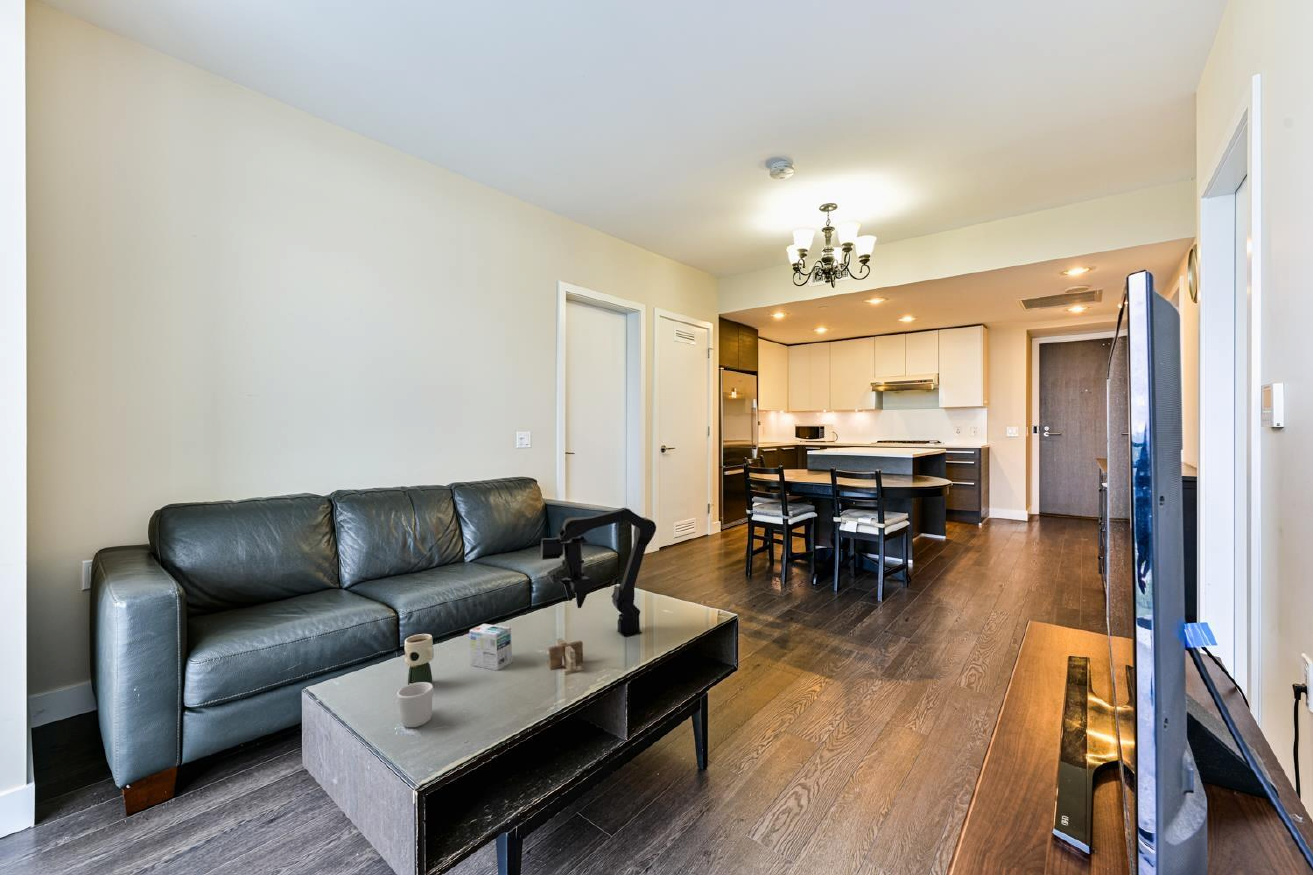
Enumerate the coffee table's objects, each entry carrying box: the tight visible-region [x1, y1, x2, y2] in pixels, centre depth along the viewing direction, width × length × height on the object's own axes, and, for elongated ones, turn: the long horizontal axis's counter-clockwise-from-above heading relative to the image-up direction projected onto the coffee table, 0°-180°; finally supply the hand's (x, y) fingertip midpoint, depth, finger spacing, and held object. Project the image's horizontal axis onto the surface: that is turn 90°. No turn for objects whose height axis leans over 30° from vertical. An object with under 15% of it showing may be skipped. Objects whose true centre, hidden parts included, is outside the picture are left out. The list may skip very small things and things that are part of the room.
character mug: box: [404, 633, 435, 685], centre depth 152 cm, size 11×7×13 cm, turn 63°
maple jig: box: [556, 637, 582, 675], centre depth 162 cm, size 5×12×6 cm, turn 28°
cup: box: [396, 682, 434, 728], centre depth 133 cm, size 11×8×8 cm
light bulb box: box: [469, 623, 513, 671], centre depth 165 cm, size 11×7×11 cm, turn 65°
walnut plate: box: [547, 640, 584, 671], centre depth 162 cm, size 10×1×6 cm, turn 118°
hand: (574, 604), depth 181 cm, fingers open, 9 cm apart
